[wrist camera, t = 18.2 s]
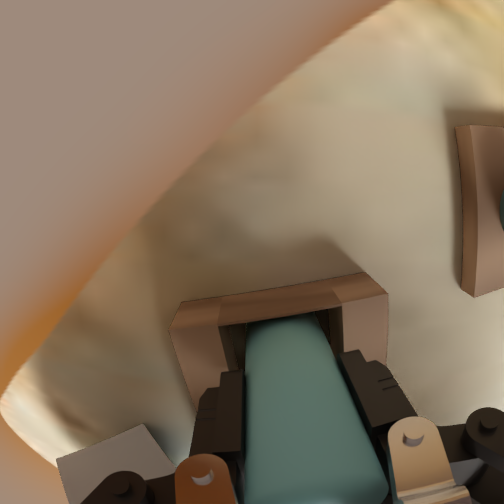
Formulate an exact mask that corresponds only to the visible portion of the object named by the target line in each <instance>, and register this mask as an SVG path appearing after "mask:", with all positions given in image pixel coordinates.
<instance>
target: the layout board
mask: <svg viewBox="0 0 504 504" xmlns="http://www.w3.org/2000/svg"><path fill="white" fill-rule="evenodd" d="M455 132H456V139H457V146H458V154H459V163H460V173H461V186H462V203H463V265H462V282H461V290H463V291H465V292H466V293H468V294H469V295H471V296H472V297H474V298H475V297H478V296H481V295H484V294H487V293H489V292H492V291H495V290H498V289H501V288H504V127H496V126H480V125H466V126H458V127H455Z"/></svg>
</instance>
